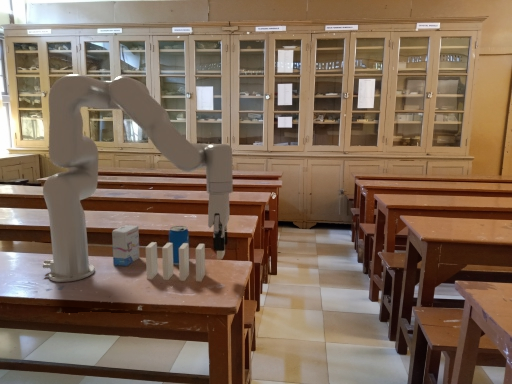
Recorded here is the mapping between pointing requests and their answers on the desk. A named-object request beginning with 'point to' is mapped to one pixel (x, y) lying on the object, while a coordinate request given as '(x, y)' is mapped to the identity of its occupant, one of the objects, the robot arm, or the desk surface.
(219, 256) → the domino
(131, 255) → the ink box
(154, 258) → the domino
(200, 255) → the domino
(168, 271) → the domino
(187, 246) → the domino
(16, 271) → the desk surface
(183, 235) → the beverage can
